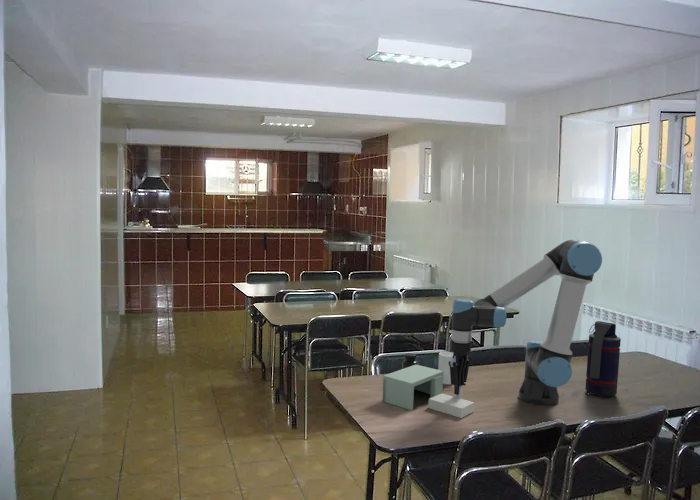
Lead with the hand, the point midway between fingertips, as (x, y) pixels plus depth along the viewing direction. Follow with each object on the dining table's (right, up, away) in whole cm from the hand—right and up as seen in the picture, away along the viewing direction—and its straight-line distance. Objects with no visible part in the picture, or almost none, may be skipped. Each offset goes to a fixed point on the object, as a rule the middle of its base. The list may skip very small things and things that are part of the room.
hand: (457, 402), depth 220 cm
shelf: (-16, 0, +7) cm, 17 cm away
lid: (-3, -2, -4) cm, 5 cm away
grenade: (+62, -2, +20) cm, 65 cm away
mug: (+2, +1, +29) cm, 29 cm away
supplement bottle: (-15, +1, +27) cm, 31 cm away
